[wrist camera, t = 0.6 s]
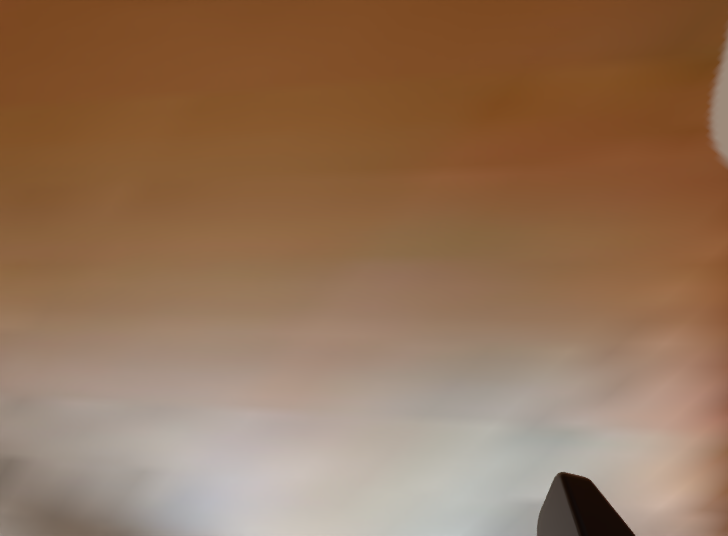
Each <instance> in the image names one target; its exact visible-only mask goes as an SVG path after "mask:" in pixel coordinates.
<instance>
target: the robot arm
mask: <svg viewBox="0 0 728 536" xmlns="http://www.w3.org/2000/svg"><path fill="white" fill-rule="evenodd" d="M537 536H635V534H634V533H633V532H632V531H631V529H630V528H629V527H628V526H627V524H626V523H625V522H624V521H623V519H622V518H621V517H620V516H619V514H618V513H617V512H616V511H615V510H614V508H613V507H612V506H611V505H610V503H609V502H608V501H607V500H606V498H605V497H604V496H603V495H602V493H601V492H600V491H599V490H598V488H597V487H596V486H595V485H594V483H593V482H592V481H591V480H589V479H588V478H586V477H583V476H579V475H574V474H570V473H566V472H561V473H558V474H557V475H556V476H555V478H554V480H553V482H552V485H551V487H550V489H549V492H548V494H547V496H546V499H545V501H544V504H543V506H542V508H541V511H540V514H539V518H538V525H537Z"/></svg>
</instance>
